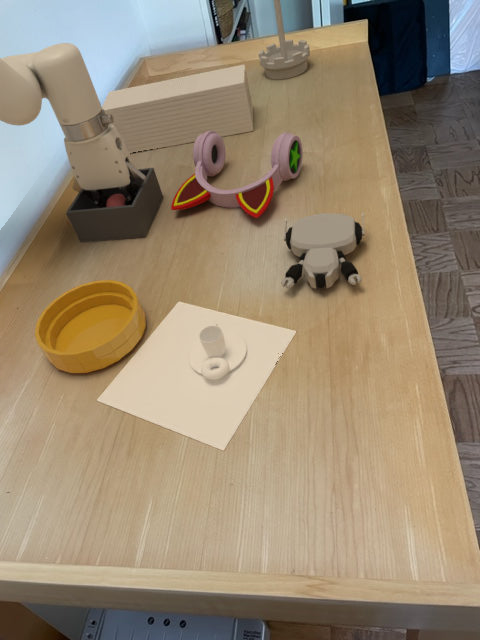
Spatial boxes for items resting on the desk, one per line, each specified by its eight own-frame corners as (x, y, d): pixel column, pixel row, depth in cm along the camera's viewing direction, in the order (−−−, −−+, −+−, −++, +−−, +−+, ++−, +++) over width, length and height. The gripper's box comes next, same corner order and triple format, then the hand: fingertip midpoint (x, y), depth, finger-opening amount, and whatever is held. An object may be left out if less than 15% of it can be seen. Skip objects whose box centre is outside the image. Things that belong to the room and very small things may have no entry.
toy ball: (108, 224, 101) (99, 203, 98) (115, 210, 104) (107, 190, 101) (130, 222, 100) (122, 201, 97) (137, 208, 103) (129, 187, 100)
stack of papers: (253, 111, 126) (244, 64, 119) (253, 131, 119) (244, 82, 111) (125, 135, 131) (109, 91, 124) (117, 156, 124) (99, 110, 116)
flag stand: (316, 72, 136) (302, -70, 115) (266, 85, 136) (243, -54, 116) (305, 56, 145) (290, -78, 125) (258, 68, 146) (236, -63, 125)
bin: (80, 242, 100) (65, 212, 95) (103, 203, 109) (90, 174, 104) (145, 237, 97) (133, 206, 92) (163, 197, 106) (153, 167, 101)
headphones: (301, 125, 98) (256, 170, 85) (305, 176, 104) (264, 225, 91) (209, 124, 107) (154, 165, 93) (217, 171, 113) (167, 216, 99)
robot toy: (366, 298, 76) (364, 229, 85) (364, 275, 72) (363, 206, 82) (280, 301, 79) (288, 234, 88) (275, 279, 75) (284, 212, 85)
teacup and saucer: (225, 389, 68) (218, 368, 65) (175, 372, 71) (166, 352, 69) (257, 341, 73) (252, 320, 70) (208, 327, 76) (201, 307, 74)
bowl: (32, 376, 76) (17, 355, 73) (71, 303, 87) (59, 282, 84) (129, 375, 73) (118, 353, 70) (158, 299, 83) (149, 277, 80)
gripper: (137, 109, 90) (169, 201, 103) (49, 122, 95) (90, 209, 107) (124, 129, 85) (159, 224, 98) (31, 142, 89) (76, 231, 102)
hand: (122, 215), depth 102 cm, fingers closed on toy ball, 4 cm apart
